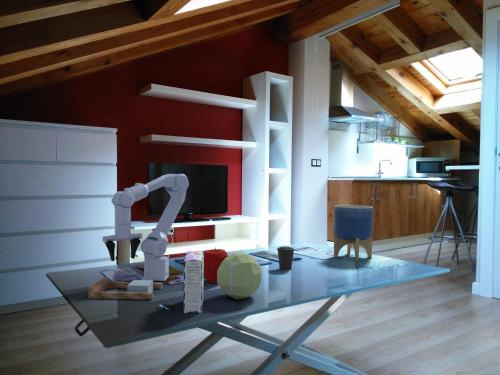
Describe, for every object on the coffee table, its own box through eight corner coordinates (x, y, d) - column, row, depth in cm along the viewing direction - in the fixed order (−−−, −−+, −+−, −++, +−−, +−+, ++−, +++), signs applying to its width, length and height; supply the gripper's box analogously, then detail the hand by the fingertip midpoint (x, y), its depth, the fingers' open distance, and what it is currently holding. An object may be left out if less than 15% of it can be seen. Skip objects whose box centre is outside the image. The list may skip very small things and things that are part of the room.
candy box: (186, 299, 134) (186, 250, 134) (203, 298, 135) (204, 250, 134) (182, 313, 121) (183, 259, 120) (202, 313, 121) (202, 259, 120)
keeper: (153, 291, 144) (153, 280, 144) (147, 297, 137) (147, 285, 137) (133, 290, 144) (133, 279, 144) (127, 296, 137) (127, 285, 137)
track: (162, 288, 147) (162, 278, 147) (152, 299, 133) (152, 289, 133) (104, 286, 148) (104, 277, 147) (88, 298, 134) (88, 287, 134)
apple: (216, 276, 164) (216, 243, 163) (233, 281, 157) (233, 247, 156) (195, 281, 156) (195, 247, 156) (212, 286, 149) (212, 250, 149)
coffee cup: (273, 270, 176) (274, 247, 176) (279, 266, 184) (279, 244, 183) (291, 272, 173) (291, 249, 173) (296, 268, 181) (296, 246, 180)
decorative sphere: (226, 306, 127) (226, 259, 127) (211, 293, 141) (212, 251, 141) (268, 300, 133) (269, 256, 133) (250, 288, 147) (251, 248, 147)
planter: (377, 261, 195) (378, 208, 195) (337, 261, 196) (338, 207, 195) (366, 253, 215) (367, 205, 214) (330, 253, 215) (331, 204, 214)
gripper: (137, 221, 157) (137, 255, 158) (99, 223, 148) (99, 259, 149) (144, 223, 151) (144, 258, 152) (105, 225, 143) (106, 263, 143)
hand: (122, 259), depth 150 cm, fingers open, 7 cm apart
